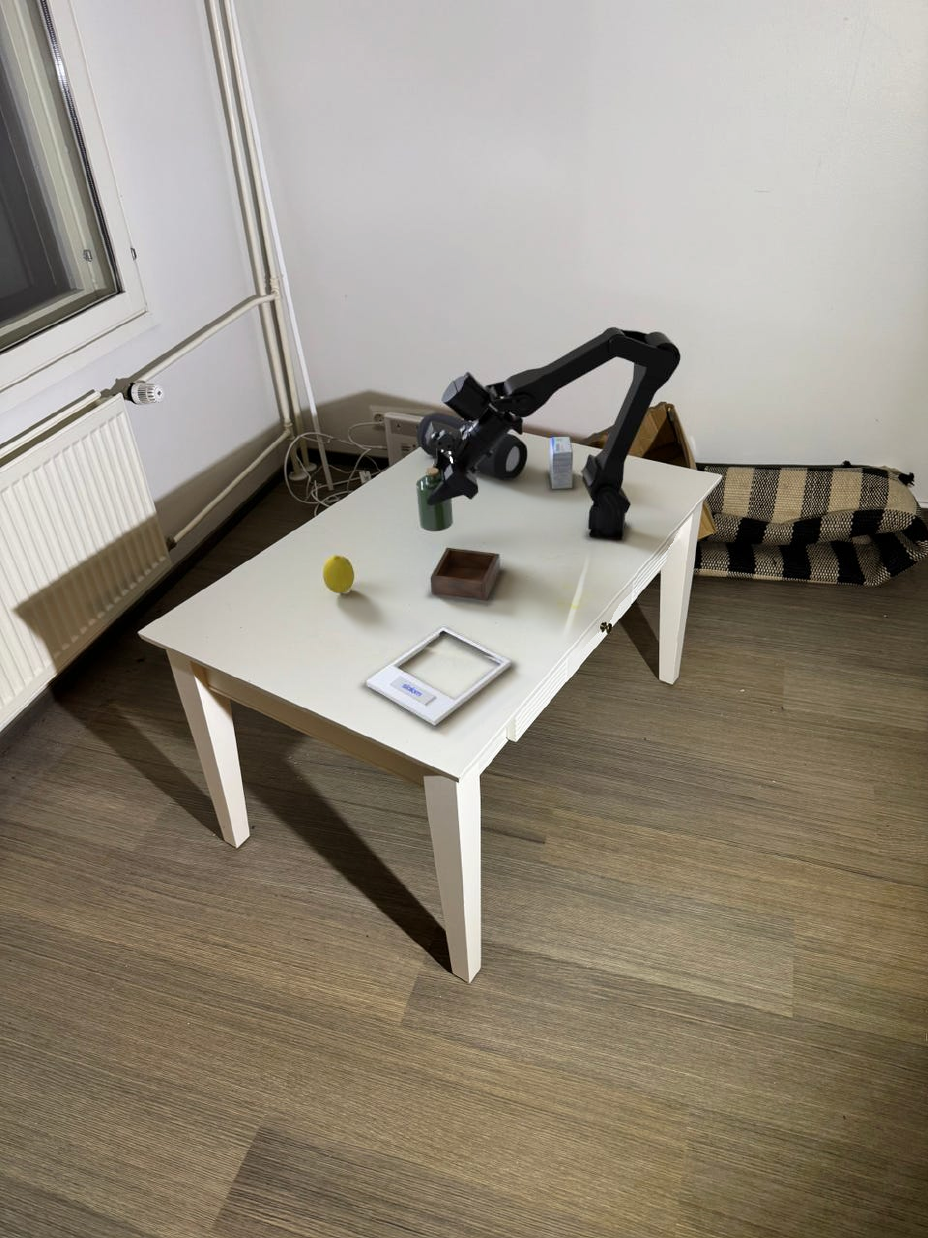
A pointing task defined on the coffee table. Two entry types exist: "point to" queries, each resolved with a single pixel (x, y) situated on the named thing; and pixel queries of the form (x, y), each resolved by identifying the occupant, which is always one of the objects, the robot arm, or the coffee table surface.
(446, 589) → the crate
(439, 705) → the photo frame
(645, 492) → the coffee table surface
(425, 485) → the bottle
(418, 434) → the portable speaker
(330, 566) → the lemon
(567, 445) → the medicine box
